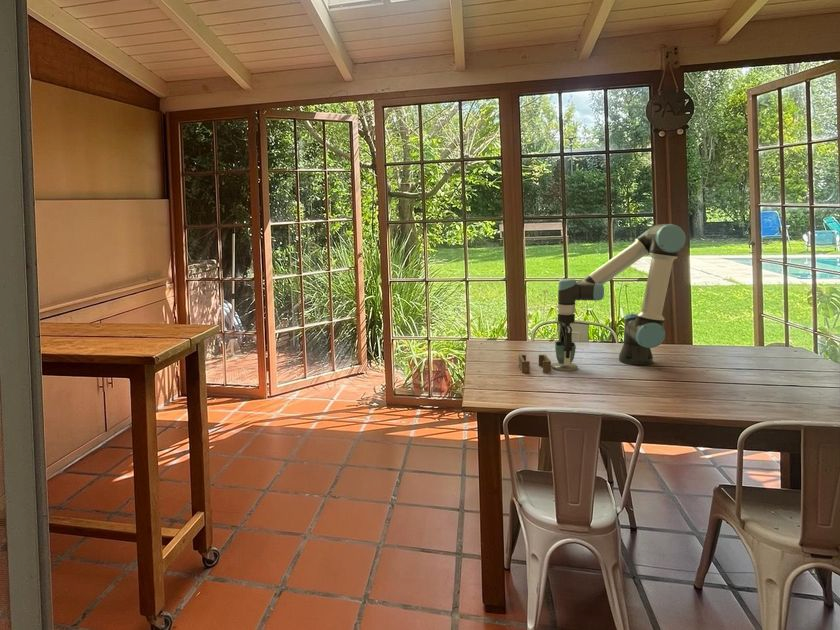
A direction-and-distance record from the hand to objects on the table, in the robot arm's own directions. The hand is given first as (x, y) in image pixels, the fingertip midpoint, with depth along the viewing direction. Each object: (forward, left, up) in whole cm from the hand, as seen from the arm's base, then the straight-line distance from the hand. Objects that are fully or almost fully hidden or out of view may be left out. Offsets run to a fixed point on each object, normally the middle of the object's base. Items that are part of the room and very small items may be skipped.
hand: (564, 361), depth 243 cm
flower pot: (0, 0, -1) cm, 1 cm away
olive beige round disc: (0, 0, -3) cm, 3 cm away
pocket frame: (+14, +2, -3) cm, 14 cm away
